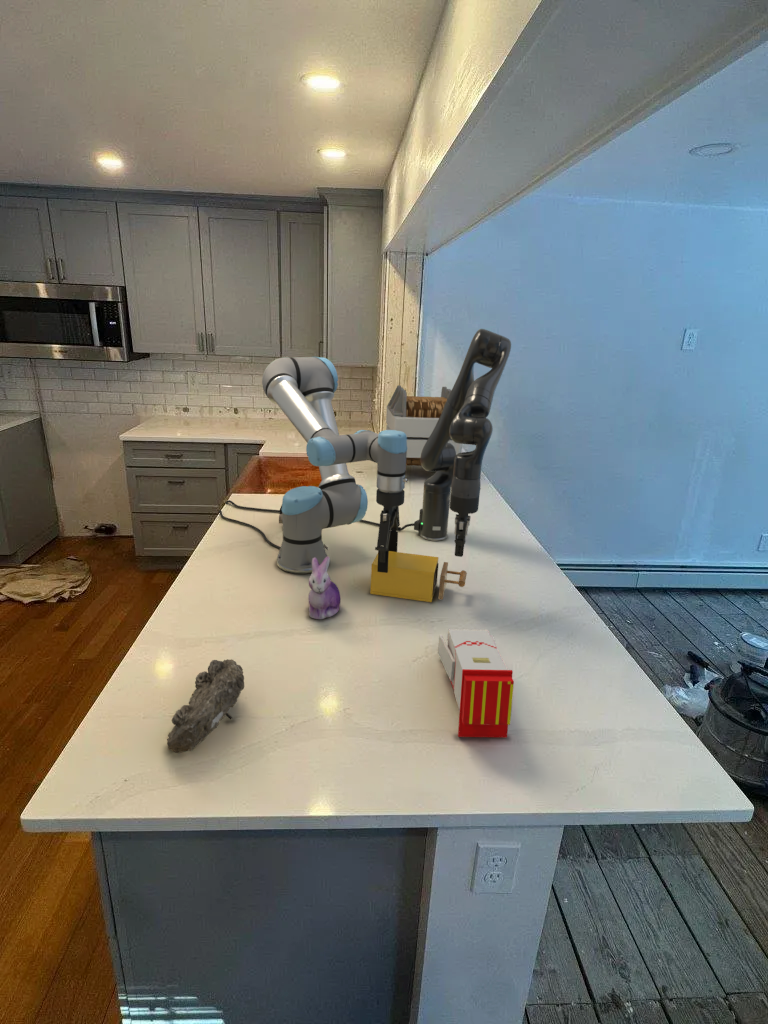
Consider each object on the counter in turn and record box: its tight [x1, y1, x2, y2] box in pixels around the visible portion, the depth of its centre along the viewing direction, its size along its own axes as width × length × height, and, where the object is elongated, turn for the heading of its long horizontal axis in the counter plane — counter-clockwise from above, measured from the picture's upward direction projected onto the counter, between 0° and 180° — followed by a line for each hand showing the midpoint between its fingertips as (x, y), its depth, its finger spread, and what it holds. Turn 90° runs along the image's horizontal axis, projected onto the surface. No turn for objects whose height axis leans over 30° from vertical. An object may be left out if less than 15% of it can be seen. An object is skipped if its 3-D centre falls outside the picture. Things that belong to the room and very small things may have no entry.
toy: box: [437, 628, 515, 738], centre depth 117 cm, size 12×13×30 cm
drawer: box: [432, 561, 468, 600], centre depth 158 cm, size 21×9×7 cm, turn 78°
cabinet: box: [369, 551, 439, 603], centre depth 159 cm, size 17×10×9 cm, turn 78°
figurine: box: [307, 555, 342, 620], centre depth 144 cm, size 9×10×15 cm
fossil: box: [166, 658, 245, 754], centre depth 106 cm, size 22×10×15 cm
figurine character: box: [278, 505, 283, 525], centre depth 204 cm, size 7×8×15 cm
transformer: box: [385, 384, 463, 467], centre depth 268 cm, size 34×33×41 cm
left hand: (387, 561), depth 158 cm, fingers open, 13 cm apart
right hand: (459, 549), depth 153 cm, fingers open, 8 cm apart
